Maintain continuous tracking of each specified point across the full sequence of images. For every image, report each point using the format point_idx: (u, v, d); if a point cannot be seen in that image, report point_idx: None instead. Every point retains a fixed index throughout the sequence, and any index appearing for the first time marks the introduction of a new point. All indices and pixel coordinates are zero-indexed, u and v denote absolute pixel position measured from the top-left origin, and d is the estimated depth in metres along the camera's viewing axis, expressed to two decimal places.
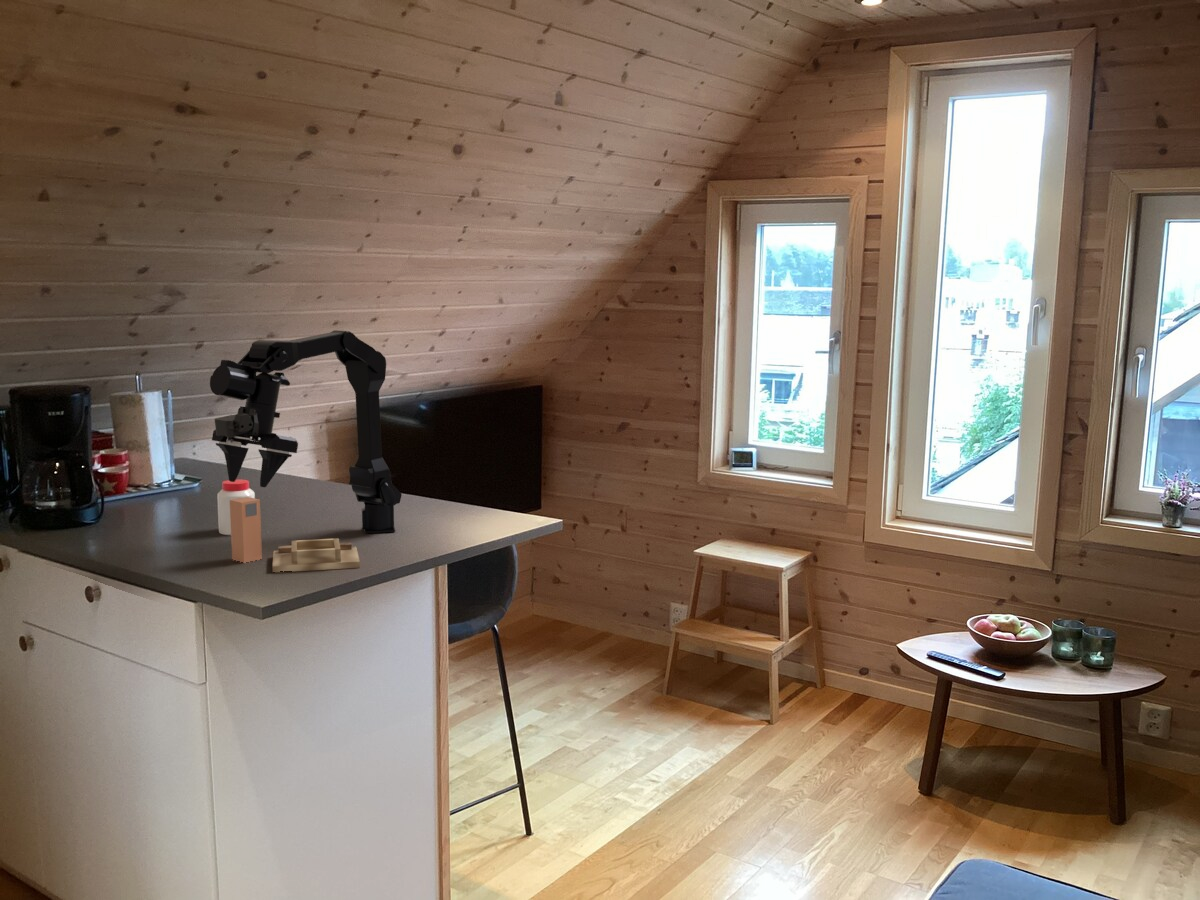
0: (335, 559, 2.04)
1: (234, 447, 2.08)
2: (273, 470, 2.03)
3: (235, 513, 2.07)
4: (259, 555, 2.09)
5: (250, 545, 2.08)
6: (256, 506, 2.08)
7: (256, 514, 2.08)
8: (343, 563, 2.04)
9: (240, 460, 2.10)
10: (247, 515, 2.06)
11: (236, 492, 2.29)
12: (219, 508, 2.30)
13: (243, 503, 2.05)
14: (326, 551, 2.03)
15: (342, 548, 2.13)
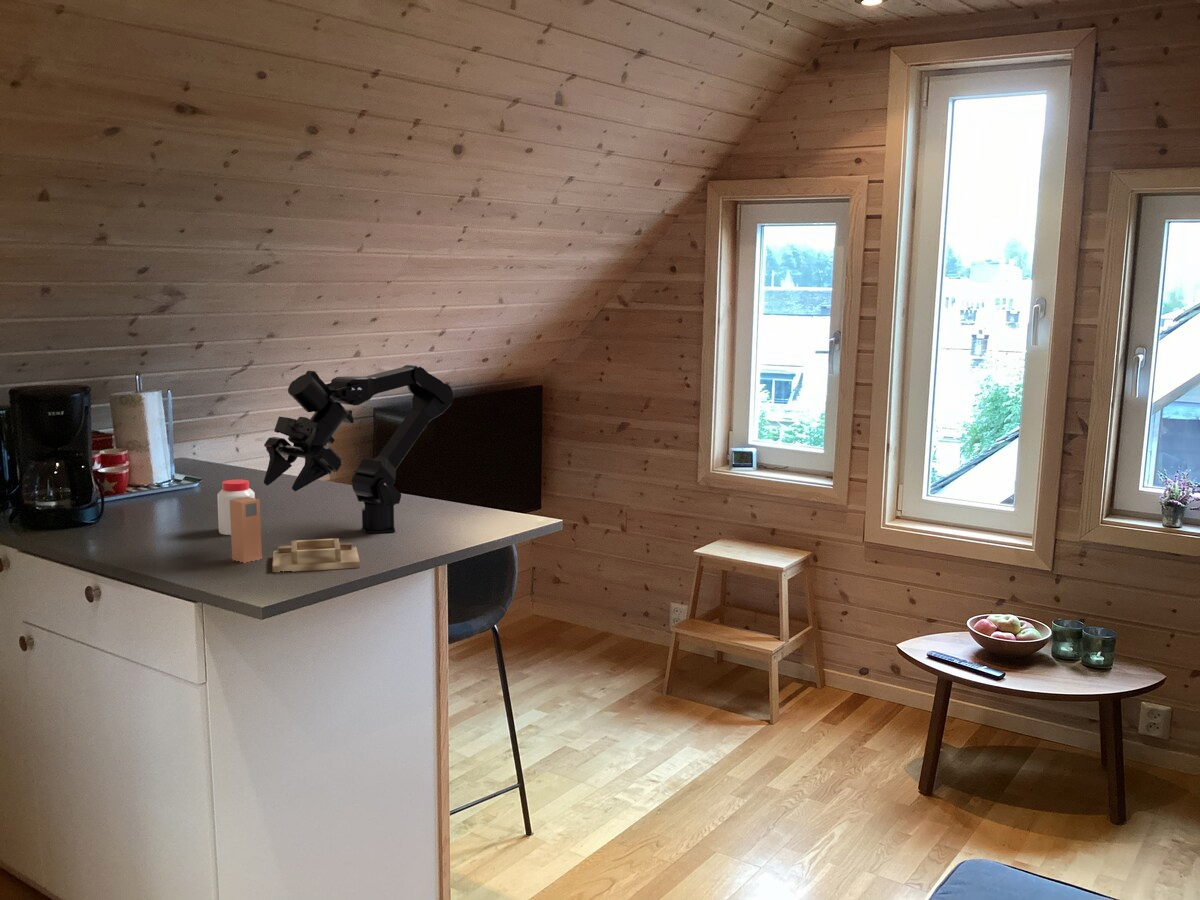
0: (335, 559, 2.04)
1: (281, 456, 2.20)
2: (309, 479, 2.13)
3: (235, 513, 2.07)
4: (259, 555, 2.09)
5: (250, 545, 2.08)
6: (256, 506, 2.08)
7: (256, 514, 2.08)
8: (343, 563, 2.04)
9: (280, 471, 2.20)
10: (247, 515, 2.06)
11: (236, 492, 2.29)
12: (219, 508, 2.30)
13: (243, 503, 2.05)
14: (326, 551, 2.03)
15: (342, 548, 2.13)
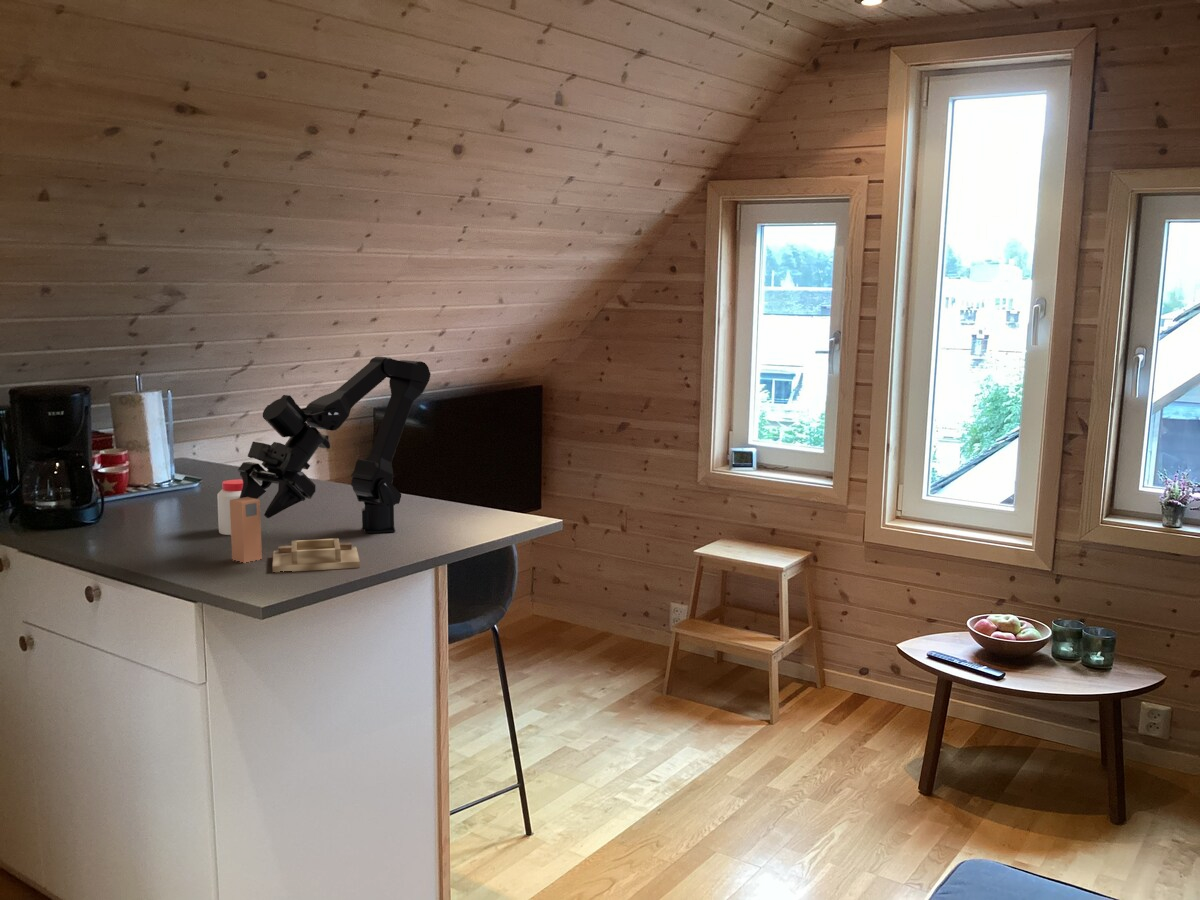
0: (335, 559, 2.04)
1: (254, 482, 2.15)
2: (282, 506, 2.08)
3: (235, 513, 2.07)
4: (259, 555, 2.09)
5: (250, 545, 2.08)
6: (256, 506, 2.08)
7: (256, 514, 2.08)
8: (343, 563, 2.04)
9: (254, 497, 2.15)
10: (247, 515, 2.06)
11: (236, 492, 2.29)
12: (219, 508, 2.30)
13: (243, 503, 2.05)
14: (326, 551, 2.03)
15: (342, 548, 2.13)
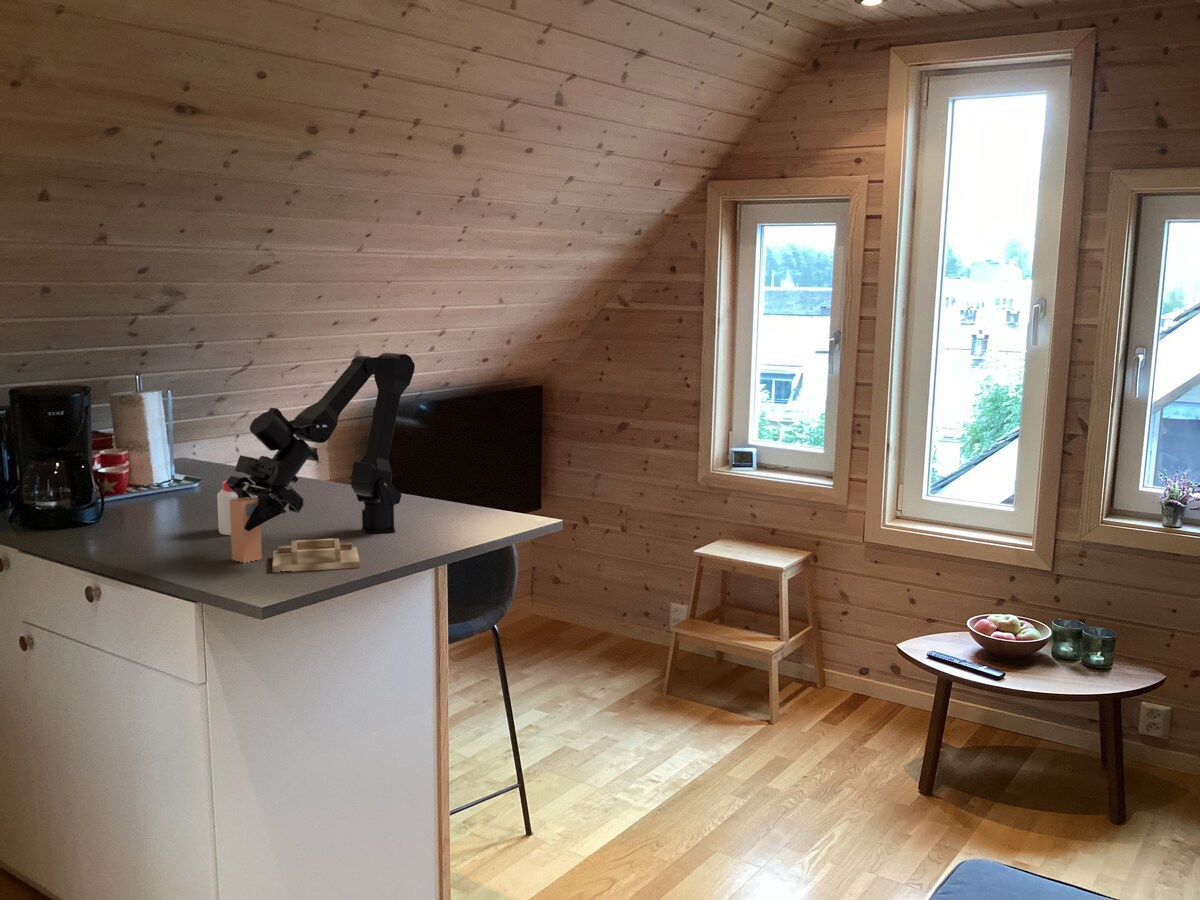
0: (335, 559, 2.04)
1: (250, 497, 2.12)
2: (263, 519, 2.08)
3: (235, 513, 2.07)
4: (259, 555, 2.09)
5: (249, 545, 2.08)
6: (256, 506, 2.08)
7: None
8: (343, 563, 2.04)
9: None
10: (247, 515, 2.06)
11: None
12: (219, 508, 2.30)
13: (243, 503, 2.05)
14: (326, 551, 2.03)
15: (342, 548, 2.13)
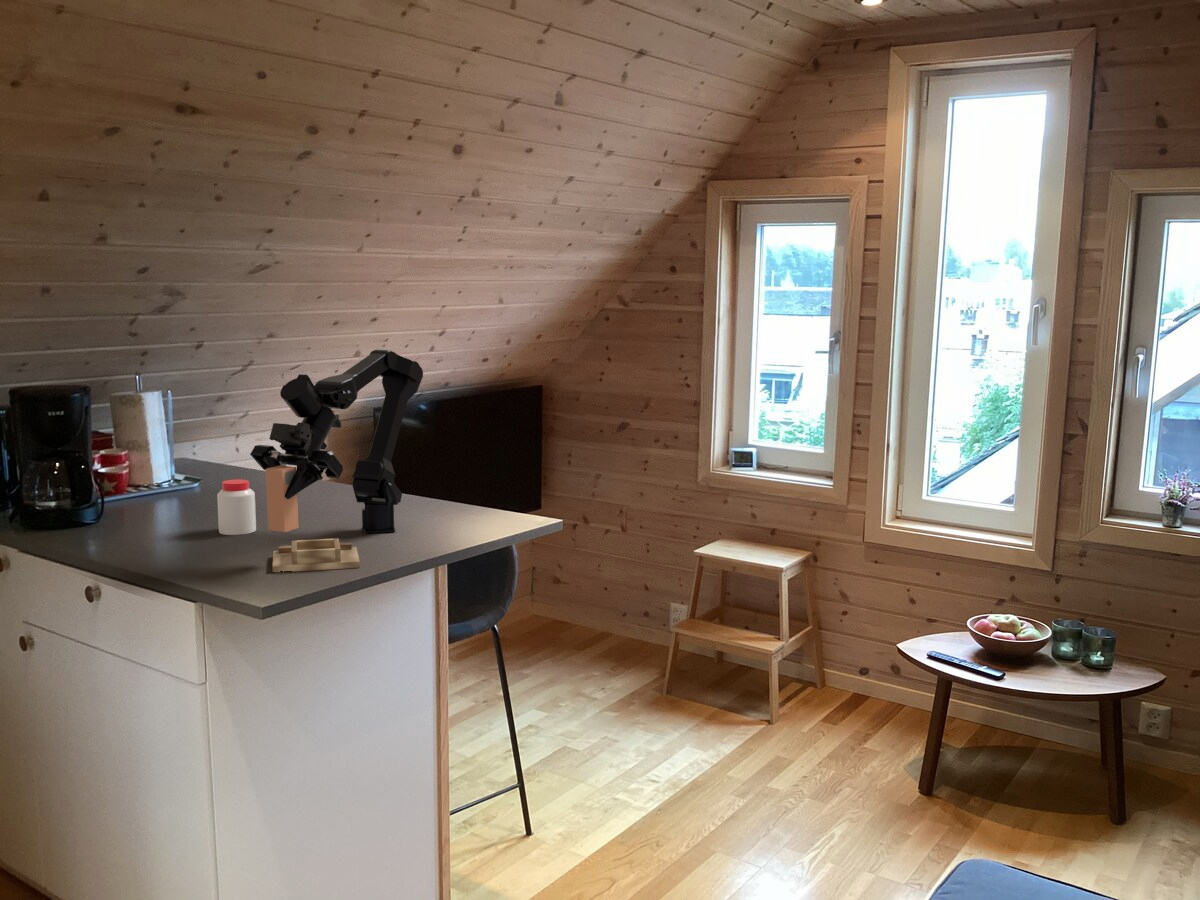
0: (335, 559, 2.04)
1: None
2: (301, 486, 2.06)
3: (273, 482, 2.04)
4: (296, 523, 2.07)
5: (289, 513, 2.05)
6: (293, 474, 2.05)
7: None
8: (343, 563, 2.04)
9: None
10: (286, 483, 2.04)
11: (236, 492, 2.29)
12: (219, 508, 2.30)
13: (283, 471, 2.03)
14: (326, 551, 2.03)
15: (342, 548, 2.13)
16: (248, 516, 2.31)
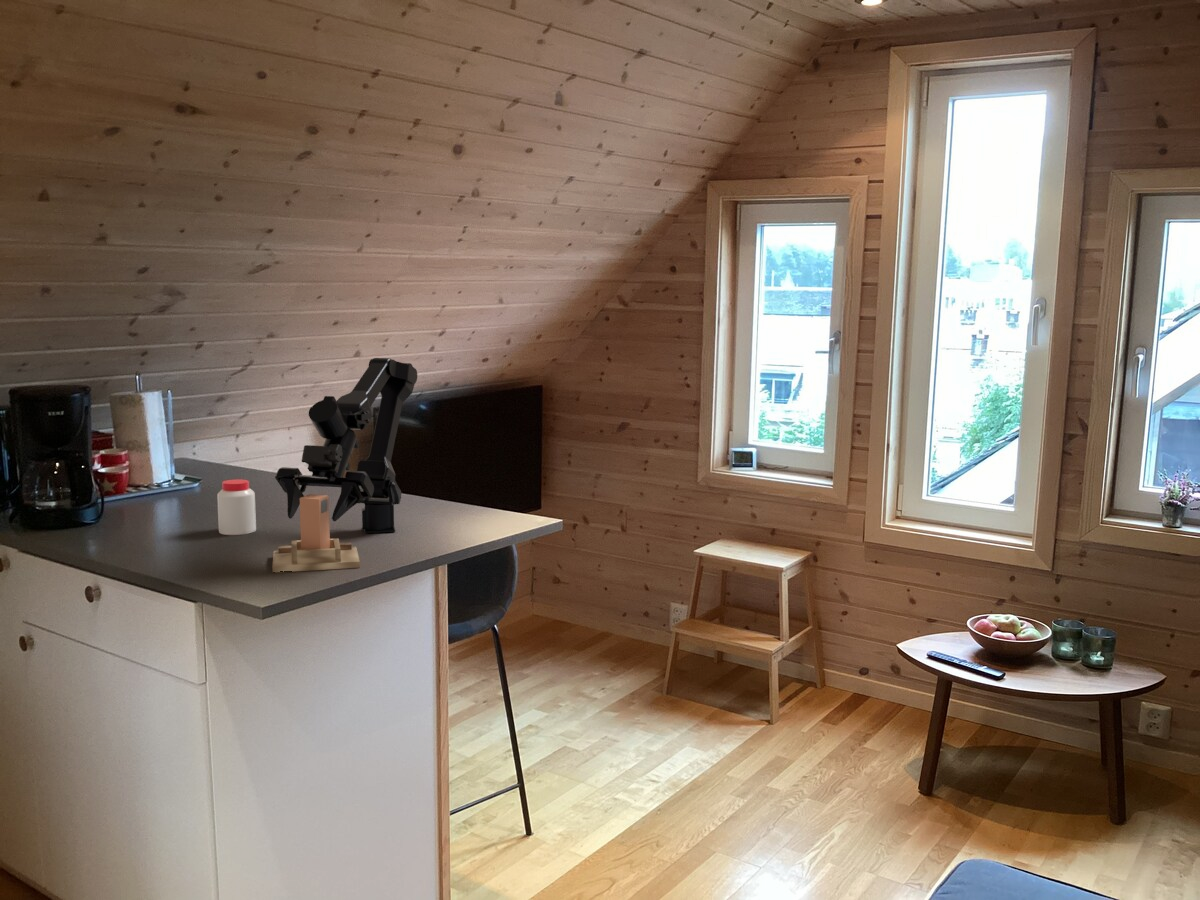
0: (335, 559, 2.04)
1: (297, 487, 2.09)
2: (346, 508, 2.06)
3: (308, 511, 2.04)
4: None
5: (323, 542, 2.06)
6: (326, 502, 2.06)
7: (327, 510, 2.07)
8: (343, 563, 2.04)
9: (297, 503, 2.09)
10: (322, 511, 2.05)
11: (236, 492, 2.29)
12: (219, 508, 2.30)
13: (319, 500, 2.03)
14: (326, 551, 2.03)
15: (342, 548, 2.13)
16: (248, 516, 2.31)
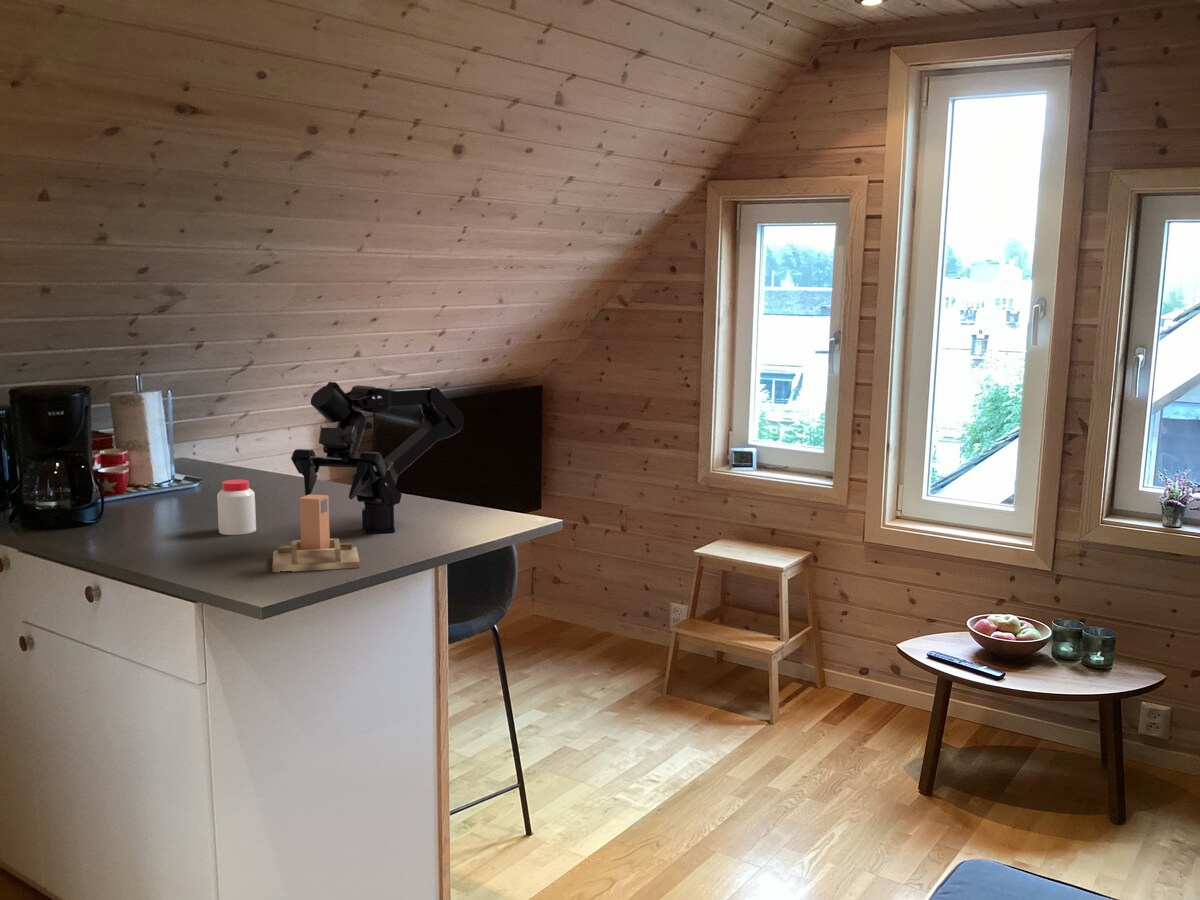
0: (335, 559, 2.04)
1: (312, 468, 2.20)
2: (361, 487, 2.18)
3: (308, 511, 2.04)
4: None
5: (323, 542, 2.06)
6: (326, 502, 2.06)
7: (327, 510, 2.07)
8: (343, 563, 2.04)
9: (312, 482, 2.20)
10: (322, 511, 2.05)
11: (236, 492, 2.29)
12: (219, 508, 2.30)
13: (319, 500, 2.03)
14: (326, 551, 2.03)
15: (342, 548, 2.13)
16: (248, 516, 2.31)
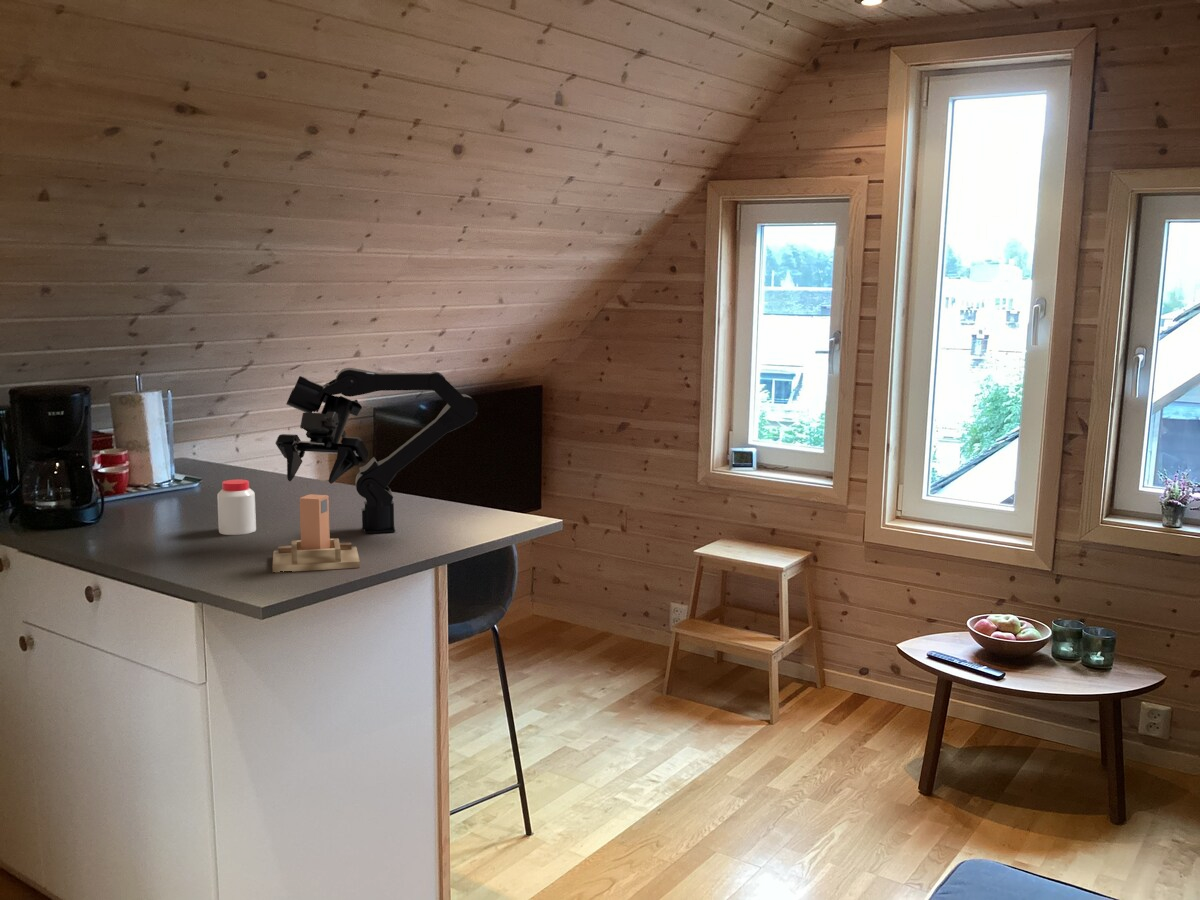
0: (335, 559, 2.04)
1: (296, 452, 2.24)
2: (341, 472, 2.21)
3: (308, 511, 2.04)
4: None
5: (323, 542, 2.06)
6: (326, 502, 2.06)
7: (327, 510, 2.07)
8: (343, 563, 2.04)
9: (296, 467, 2.24)
10: (322, 511, 2.05)
11: (236, 492, 2.29)
12: (219, 508, 2.30)
13: (319, 500, 2.03)
14: (326, 551, 2.03)
15: (342, 548, 2.13)
16: (248, 516, 2.31)
